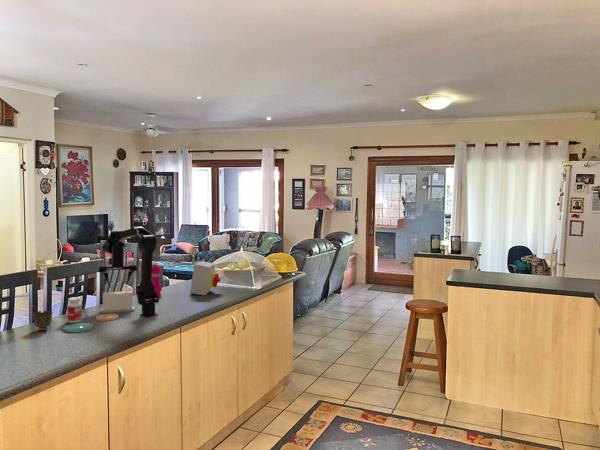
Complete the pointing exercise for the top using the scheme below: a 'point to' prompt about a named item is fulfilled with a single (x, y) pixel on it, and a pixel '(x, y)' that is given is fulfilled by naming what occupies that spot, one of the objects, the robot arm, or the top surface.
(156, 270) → the pepper mill
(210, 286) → the electrical switch box
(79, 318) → the pill bottle
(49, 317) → the cup
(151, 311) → the robot arm
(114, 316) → the terracotta plate
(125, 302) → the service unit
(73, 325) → the teal plate
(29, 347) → the top surface
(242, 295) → the top surface
